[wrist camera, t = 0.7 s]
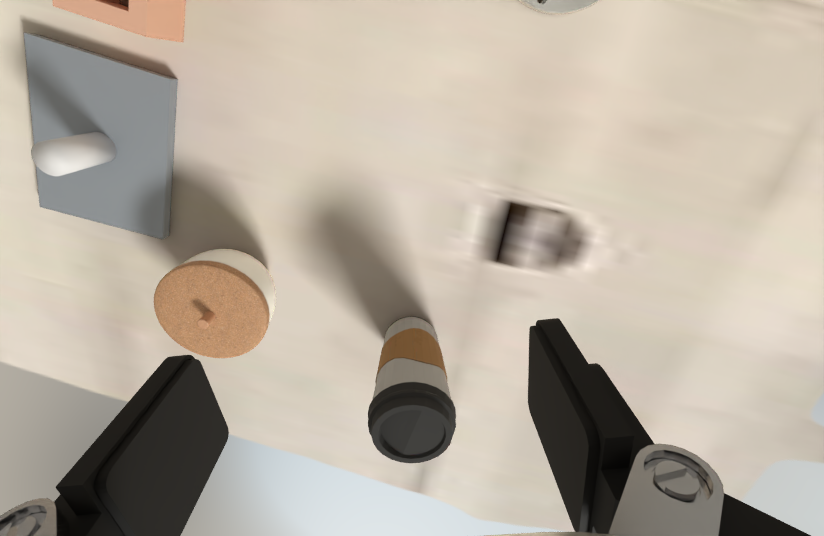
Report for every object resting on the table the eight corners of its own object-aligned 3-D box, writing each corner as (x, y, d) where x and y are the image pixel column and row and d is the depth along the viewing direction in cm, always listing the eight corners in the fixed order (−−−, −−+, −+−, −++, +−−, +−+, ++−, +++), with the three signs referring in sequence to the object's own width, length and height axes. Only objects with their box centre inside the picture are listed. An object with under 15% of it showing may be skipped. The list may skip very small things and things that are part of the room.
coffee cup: (369, 354, 50) (355, 456, 37) (388, 299, 47) (379, 390, 33) (431, 370, 52) (440, 474, 38) (454, 318, 48) (472, 412, 35)
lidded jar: (183, 298, 47) (134, 347, 38) (203, 218, 42) (152, 254, 34) (273, 329, 49) (244, 383, 40) (300, 256, 44) (275, 299, 36)
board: (35, 33, 35) (-50, 24, 28) (177, 79, 37) (127, 80, 30) (49, 203, 41) (-18, 226, 35) (169, 235, 43) (126, 263, 37)
